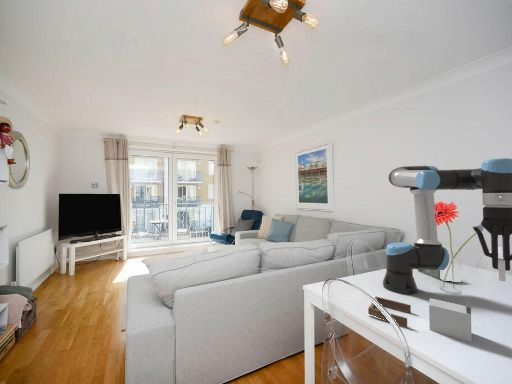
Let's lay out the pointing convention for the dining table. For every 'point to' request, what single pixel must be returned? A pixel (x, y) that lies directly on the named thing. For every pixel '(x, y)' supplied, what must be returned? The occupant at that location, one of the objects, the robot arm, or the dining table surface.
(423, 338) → the dining table surface
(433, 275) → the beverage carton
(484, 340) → the dining table surface
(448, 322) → the grey box with ridge
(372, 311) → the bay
